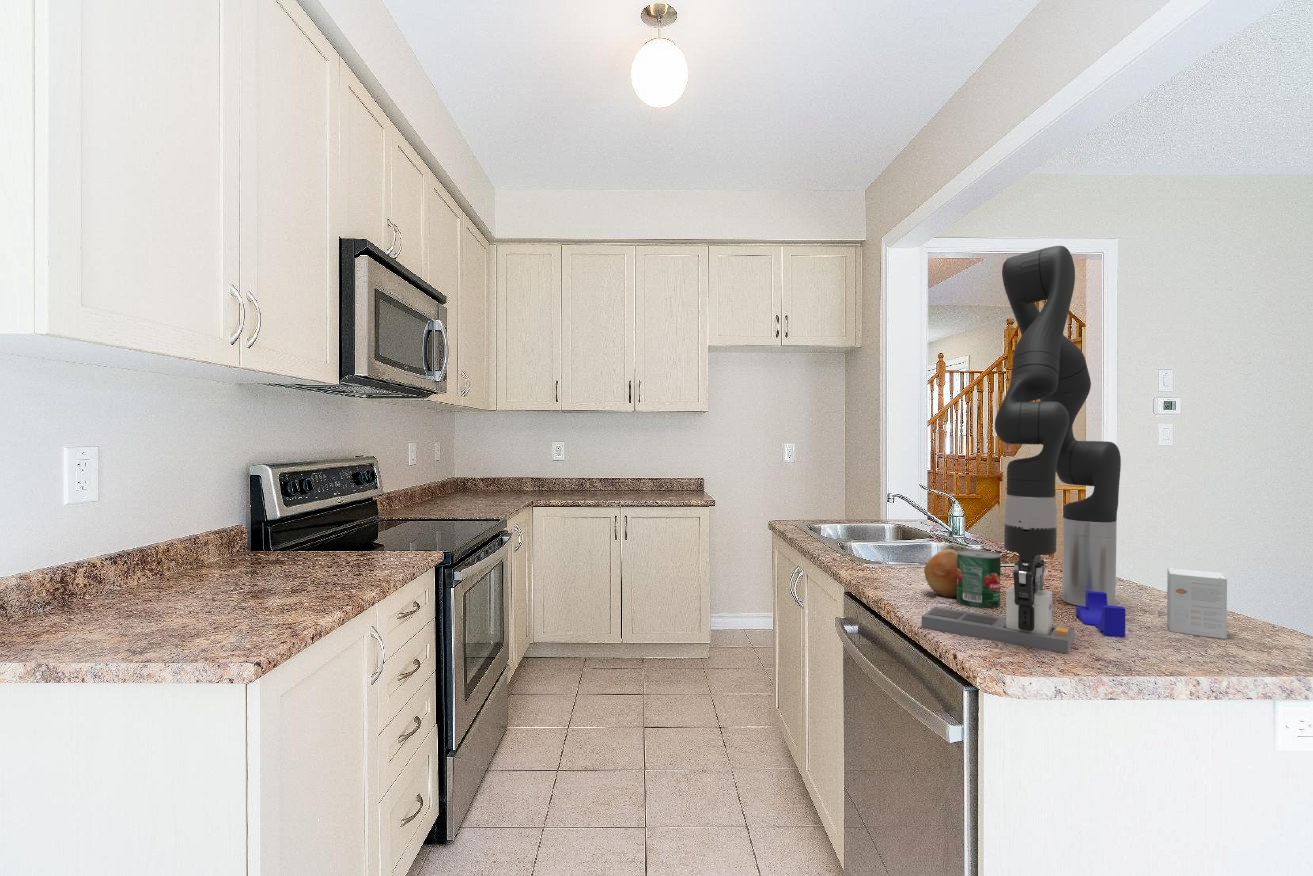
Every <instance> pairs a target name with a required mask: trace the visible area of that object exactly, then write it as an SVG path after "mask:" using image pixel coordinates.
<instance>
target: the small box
mask: <svg viewBox="0 0 1313 876" xmlns="http://www.w3.org/2000/svg"><path fill="white" fill-rule="evenodd" d="M1166 570H1167V576H1166V577H1167V581H1166V582H1167V583H1166V585H1167V587H1166V588H1167V591H1166V622H1167V623H1166V624H1167V629H1168V631H1169V632H1170V633H1176V634H1177V633H1178V634H1184V635H1186V634H1187V635H1193V636H1201V637H1207V638H1215V639H1223V640H1227V638H1228V628H1227V627H1228V626H1227V625H1228V623H1227V622H1228V621H1227V619H1228V617H1227V616H1228V614H1227V613H1228V610H1227V609H1228V607H1227V605H1228V603H1227V602H1228V580H1227V578H1226V576H1225V575H1224V573H1222V572H1215V571H1207V570H1206V571H1205V570H1204V571H1203V570H1194V569H1193V570H1192V569H1185V568H1184V569H1181V568H1171V567H1168V568H1167V569H1166Z"/></svg>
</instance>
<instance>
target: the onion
mask: <svg viewBox="0 0 1313 876" xmlns="http://www.w3.org/2000/svg"><path fill="white" fill-rule="evenodd" d="M958 551H959V550H958ZM958 551H957V549H956V550H955V549H954V548H953V549H952V548H947V549H945V550H941V551H938V552H937V553H935V554H934V555H933V556H932V557H931V558H930V559H928V561H927V562H926V564H925V566H924V569H923V571H924V572H923V573H924V577H925V580H926V582H927V584H928V587H930V588H931V590H933V592H935V593H937V594H938V595H941V597H942V596H943V597H945V598H949V599H953V598H957V556H958V554H957V552H958Z"/></svg>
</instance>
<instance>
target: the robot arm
mask: <svg viewBox="0 0 1313 876" xmlns="http://www.w3.org/2000/svg"><path fill="white" fill-rule="evenodd" d="M1001 268H1002V269H1001V276H1002V283H1003V287H1004V290H1005V293H1006V296H1007V300H1008V302H1009V305H1010V308H1011V310H1012V313H1013V316H1014V317H1015V321H1016V324H1017V325H1018V328H1019V331H1020V335H1021V337H1020V338H1019V339H1018V342H1017V343H1016V346H1015V347H1014V351H1013V355H1012V364H1011V373H1010V374H1011V377H1010V382H1009V387H1008V388H1007V392H1006V394H1005V395H1004V398H1003V400H1002V401H1001V404H1000V406H999V408H998V410H997V414H996V416H995V419H994V431H995V434H996V435H997V437H998V438H999V440H1000V441H1001V442H1003V443H1005V444H1009V445H1042V449H1041V451H1040V452H1039V453H1038V454H1036V455H1034V456H1031V457H1030V456H1029V457H1025V458H1017V459H1014V460H1013V459H1012V460H1011V461H1009V462H1008V464H1007V466H1006V495H1005V496H1006V498H1005V504H1004V523H1003V524H1004V525H1003V526H1004V527H1003V529H1004V530H1003V531H1004V534H1003V535H1004V538H1003V539H1004V540H1003V542H1004V543H1003V544H1004V545H1003V547H1004V549H1005V550H1006V551H1008V552H1010V553H1017V554H1018V560H1017V561H1016V562H1014V564H1013V565H1014V566H1013V572H1012V575H1013V586H1014V593H1015V599H1014V602H1015V604H1016V605H1017V606H1018V627H1019V629H1021V630H1027V631H1033V629H1034V608H1035V606H1036V603H1035V595H1036V594H1038V593H1039V590H1044V589H1043V588H1044V585H1045V584H1044V583H1045V581H1044V580H1045V579H1044V574H1045V571H1046V561H1045V559H1041V556H1051V555H1054V554H1056V552H1057V534H1058V533H1057V527H1058V526H1057V524H1058V523H1057V518H1058V516H1057V515H1058V514H1057V513H1058V511H1057V503H1056V477H1058V479H1059V481H1061V482H1062V483H1064V484H1066V485H1070V486H1071V485H1073V486H1085V487H1093V491H1092V493H1091V495H1089V496H1087V497H1086V498H1084V499H1081V500H1077V501H1073V502H1068V503H1066V504H1065V505H1063V512H1062V514H1063V515H1062V517H1063V521H1062V525H1063V527H1062V529H1063V530H1062V531H1063V533H1062V538H1063V539H1062V581H1061V583H1062V585H1061V586H1062V587H1061V589H1062V590H1061V591H1062V592H1061V594H1062V595H1061V596H1062V597H1061V599H1062V601H1063V602H1065V603H1068V604H1071V605H1075V606H1080V607H1086V591H1096V592H1105V593H1106V594H1107V605H1108V606H1116V595H1117V594H1116V591H1117V590H1116V588H1117V586H1116V585H1117V538H1118V537H1117V536H1118V535H1117V533H1118V532H1117V527H1118V526H1117V524H1118V523H1117V519H1118V518H1117V517H1118V515H1117V514H1118V508H1119V497H1120V496H1119V492H1120V480H1121V470H1122V469H1121V467H1122V460H1121V459H1122V457H1121V452H1120V448H1119V447H1118V445H1117V444H1116V443H1115V442H1112V441H1103V440H1102V441H1101V440H1100V441H1099V440H1098V441H1097V440H1077V439H1076V438H1075V435H1074V432H1073V431H1074V430H1073V427H1074V426H1073V425H1074V422H1075V420H1076V418H1077V416H1078V414H1079V412H1080V411H1081V409H1082V408H1083V405H1084V404H1085V402H1086V400H1087V398H1088V396H1089V395H1090V391H1091V387H1092V381H1091V376H1090V372H1089V368H1088V364H1087V361H1086V357H1085V355H1084V353H1083V351H1082V350H1081V349H1080V348H1079V346H1077V345H1076V343H1074V342H1073V341H1072V340H1070V339H1069V338H1068V337H1066V335H1064V330H1065V328H1066V327H1065V326H1066V323H1067V320H1068V316H1069V311H1070V307H1071V303H1072V298H1073V295H1074V290H1075V284H1076V283H1075V281H1076V268H1075V262H1074V259H1073V257H1072V254H1071V251H1070V250H1069V249H1068V248H1067V247H1066V246H1064V245H1055V246H1049V247H1045V248H1041V249H1040V248H1039V249H1036V250H1033V251H1030V252H1025V253H1021V254H1017V255H1014V256H1011V257H1009V258H1006V259H1005V261H1004V262H1003V264H1002V267H1001ZM1043 301H1045V303H1044V305H1043V308H1042V309H1041V310H1039V308H1038V307H1037V305H1036V303H1037V302H1038V303H1039V302H1043ZM1037 400H1039V401H1037ZM1056 475H1057V476H1056ZM1022 593H1027V594H1028V598H1022Z"/></svg>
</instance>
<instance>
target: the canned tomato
mask: <svg viewBox="0 0 1313 876" xmlns="http://www.w3.org/2000/svg"><path fill="white" fill-rule="evenodd" d="M957 554H958V556H957V597H956V602H957V603H958V604H959V605H963V606H964V607H965V606H966V607H969V608H970V607H971V608H977V609H995V608H996V609H997V608H999V607H1000V606H1001V585H1002V584H1001V573H1002V572H1001V568H1002V567H1001V566H1002V562H1001V558H1002V555H1001V554H1000V553H998V552H996V551H995V552H994V551H990V550H983V549H980V550H979V549H962V550H958V552H957Z"/></svg>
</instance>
